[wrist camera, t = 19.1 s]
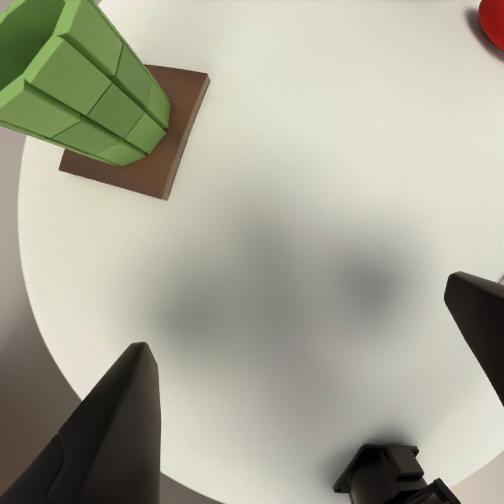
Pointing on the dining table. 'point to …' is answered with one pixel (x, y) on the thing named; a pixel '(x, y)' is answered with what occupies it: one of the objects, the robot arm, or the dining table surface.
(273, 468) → the dining table surface
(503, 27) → the christmas ornament
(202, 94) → the wooden base
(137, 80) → the green ribbed pen cup
